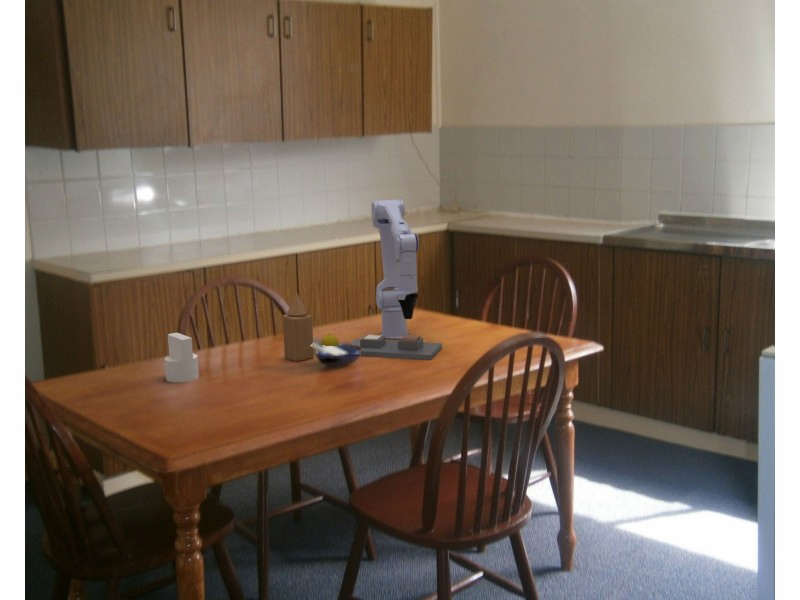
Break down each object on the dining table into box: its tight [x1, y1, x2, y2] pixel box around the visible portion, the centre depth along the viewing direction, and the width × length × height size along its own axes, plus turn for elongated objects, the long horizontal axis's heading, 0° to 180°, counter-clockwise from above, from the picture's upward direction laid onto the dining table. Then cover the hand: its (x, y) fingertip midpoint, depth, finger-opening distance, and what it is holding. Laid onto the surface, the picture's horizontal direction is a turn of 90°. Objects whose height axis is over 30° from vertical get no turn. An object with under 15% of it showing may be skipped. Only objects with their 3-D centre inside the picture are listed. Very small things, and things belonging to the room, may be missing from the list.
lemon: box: [320, 333, 340, 347], centre depth 268 cm, size 6×6×8 cm
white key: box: [364, 334, 382, 340], centre depth 278 cm, size 4×4×2 cm
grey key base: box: [348, 334, 443, 361], centre depth 276 cm, size 14×28×4 cm, turn 73°
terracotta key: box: [402, 333, 421, 342], centre depth 274 cm, size 4×4×2 cm
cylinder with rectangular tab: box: [164, 332, 200, 383], centre depth 253 cm, size 9×9×12 cm
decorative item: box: [282, 292, 315, 362], centre depth 270 cm, size 7×7×20 cm
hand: (408, 318), depth 273 cm, fingers closed
